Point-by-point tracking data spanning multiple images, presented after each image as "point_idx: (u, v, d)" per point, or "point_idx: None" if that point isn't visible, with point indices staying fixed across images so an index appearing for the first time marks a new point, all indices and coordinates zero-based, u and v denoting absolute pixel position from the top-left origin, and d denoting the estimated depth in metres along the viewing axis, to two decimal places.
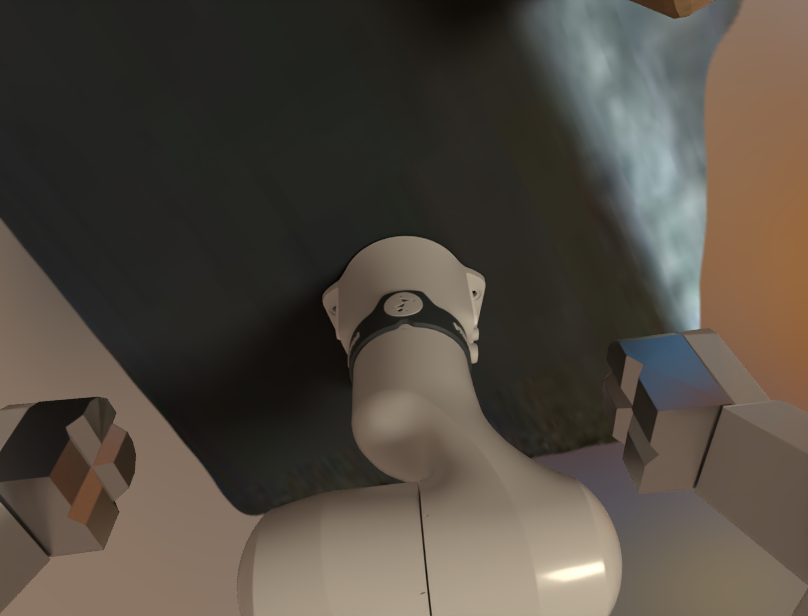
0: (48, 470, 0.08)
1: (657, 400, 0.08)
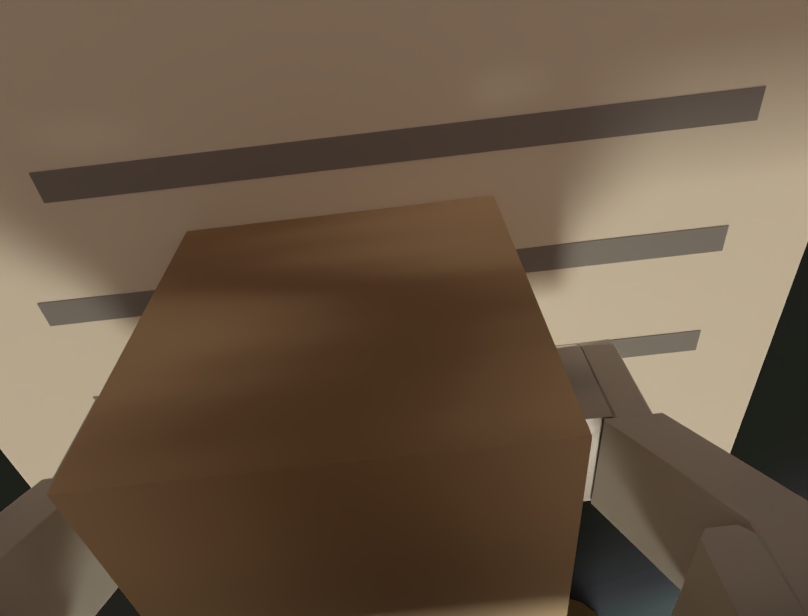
0: None
1: None
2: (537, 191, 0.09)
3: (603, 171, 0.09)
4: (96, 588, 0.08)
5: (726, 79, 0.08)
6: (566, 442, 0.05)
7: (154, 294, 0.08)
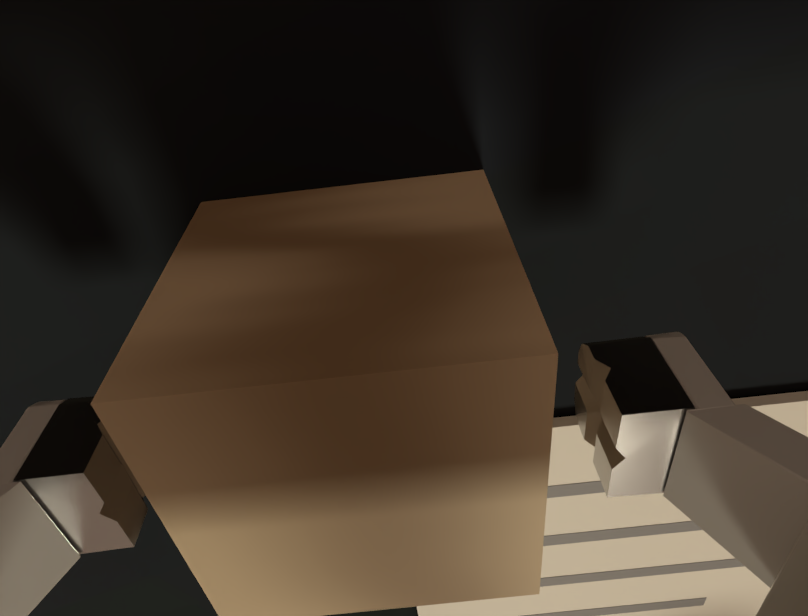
0: (82, 466, 0.08)
1: (622, 404, 0.08)
2: None
3: None
4: (21, 596, 0.08)
5: None
6: (536, 360, 0.06)
7: (175, 251, 0.09)
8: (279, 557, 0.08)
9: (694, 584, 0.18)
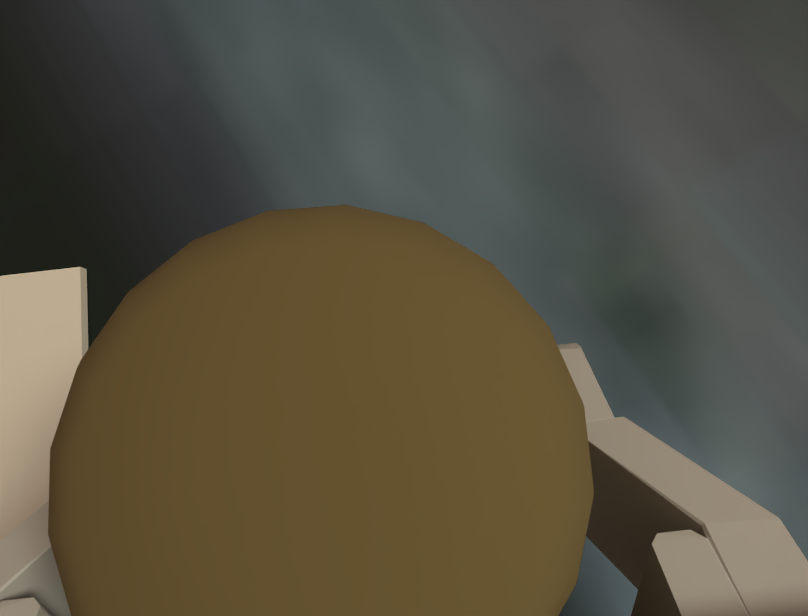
0: None
1: None
2: None
3: None
4: None
5: None
6: None
7: None
8: None
9: None
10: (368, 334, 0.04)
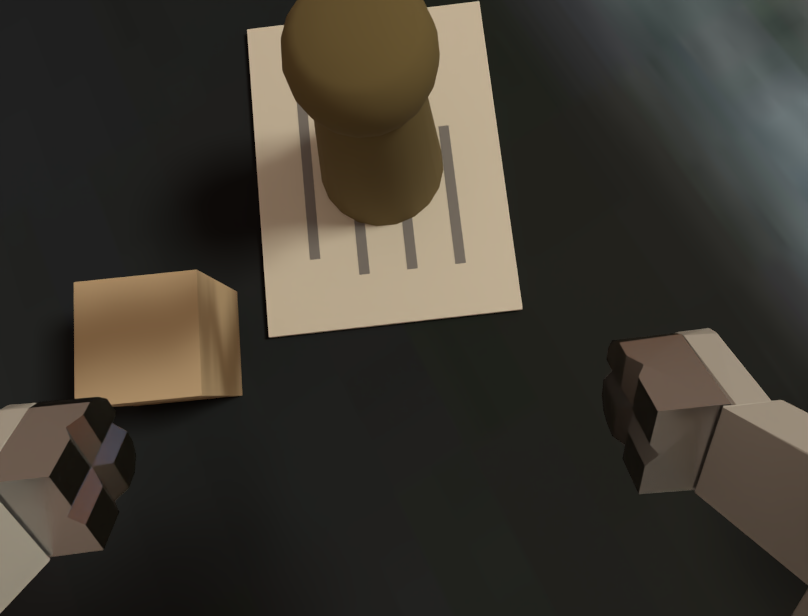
0: (48, 470, 0.08)
1: (657, 400, 0.08)
2: None
3: None
4: None
5: None
6: (76, 287, 0.23)
7: (118, 406, 0.25)
8: (156, 366, 0.22)
9: None
10: None
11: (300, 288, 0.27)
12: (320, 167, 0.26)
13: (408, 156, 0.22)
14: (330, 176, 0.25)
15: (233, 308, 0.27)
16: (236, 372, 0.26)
